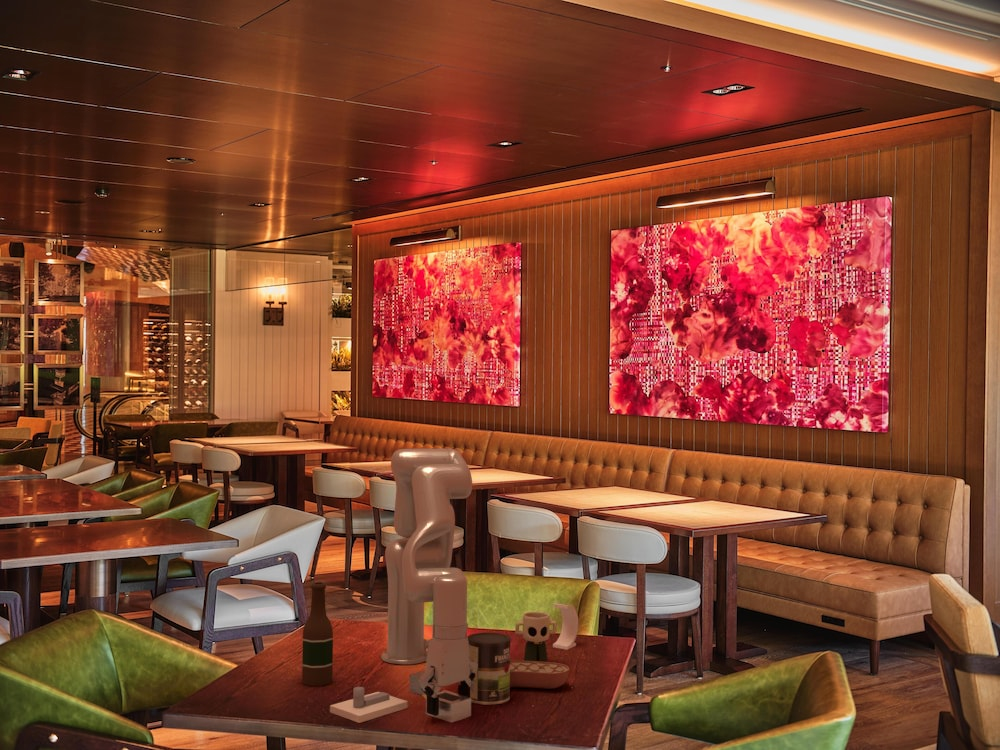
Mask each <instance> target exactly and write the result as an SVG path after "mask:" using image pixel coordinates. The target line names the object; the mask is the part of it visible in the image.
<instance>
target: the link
mask: <svg viewBox="0 0 1000 750" xmlns="http://www.w3.org/2000/svg"><path fill="white" fill-rule="evenodd" d="M437 697H439V714H438V716H434V715H431V714H428V713H427V696H426V699H425V715H428V716H431V717H433V718H436V719H439V720H443V721H446V722H448V723H451V724H452V723H455V722H458V721H462V720H463V719H467V718H469V717H470V718H471V717H472V702H471V698H470V697H466V696H463V695H460V694H458V692H454V691H450V690H447V689H444V690H443V691H441V690H440V691H439V693H438V695H437Z"/></svg>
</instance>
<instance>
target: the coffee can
mask: <svg viewBox="0 0 1000 750" xmlns="http://www.w3.org/2000/svg"><path fill="white" fill-rule="evenodd" d="M467 636H468V642H469V649H470V661H472V662H474V663H476V664H478V667H477V670H476V673H475V678H474V679H473V681H472V686H471V687H470V698H471V704H477V705H478V704H479V705H484V706H486V705H487V706H492V705H494V706H496V705H499V704H500V705H501V704H505V703H507V702H509V701H510V699H511V695H510V694H511V693H510V691H511V690H510V688H511V687H510V661H511V642H512V639H511V637H510V636H509V635H507V634H505V633H501V632H499V633H498V632H476V633H472V634H469V635H467Z"/></svg>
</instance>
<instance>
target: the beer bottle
mask: <svg viewBox="0 0 1000 750" xmlns="http://www.w3.org/2000/svg"><path fill="white" fill-rule="evenodd" d="M310 588H311V600H310V601H311V603H310V612H309V617H307V619H306V621H305V624H303V629H302V659H301V660H302V662H301V663H302V664H301V665H302V666H301V668H302V669H301V671H302V672H301V673H302V674H301V677H302V680H301V681H302V684H303V686H309V687H325V686H327V685H330V684H332V682H333V675H334V674H333V673H334V671H333V667H334V666H333V665H334V664H333V663H334V659H333V656H334V652H333V651H334V633H333V626H332V623H331V619H330V618H329V617H328V615H327V612H326V611H327V610H326V609H327V608H326V592H325V591H326V590H325V589H326V588H327V586H326V583H325V582H322V581H316V582H312V583H311V586H310Z"/></svg>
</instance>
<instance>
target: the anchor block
mask: <svg viewBox="0 0 1000 750" xmlns="http://www.w3.org/2000/svg"><path fill="white" fill-rule="evenodd" d="M425 671H426V669H425V670H421V671H419V672H415V673H411V674H409V692H410V693H413V694H416V695H419V696H422V697H423V694H424V692H423V691H422V690H421V686H420V684H419V678H420V677H421V676H422V675H423V674H424V673H425ZM428 684H429V683H428ZM434 688H435V686H434V687H433V688H432V690H434Z"/></svg>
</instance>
